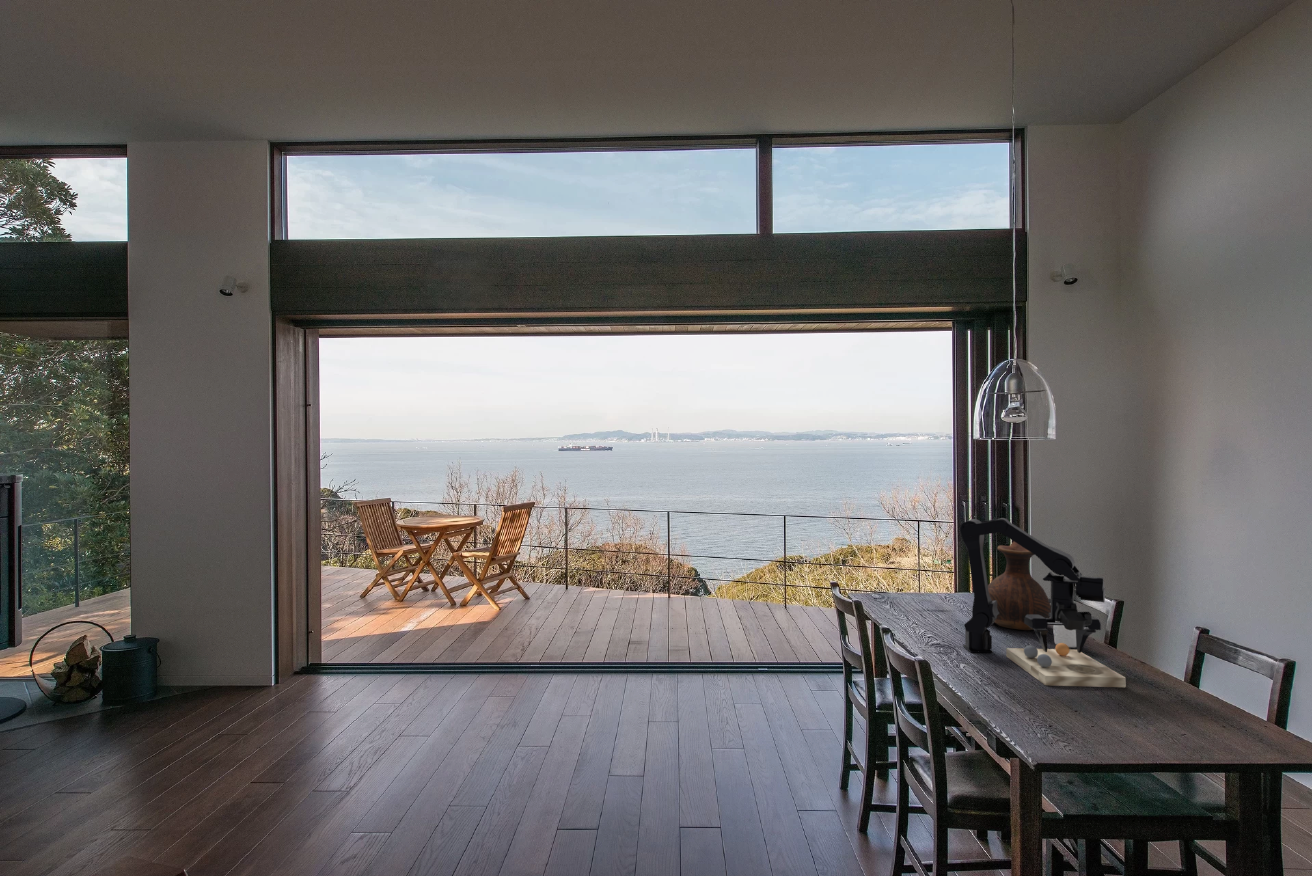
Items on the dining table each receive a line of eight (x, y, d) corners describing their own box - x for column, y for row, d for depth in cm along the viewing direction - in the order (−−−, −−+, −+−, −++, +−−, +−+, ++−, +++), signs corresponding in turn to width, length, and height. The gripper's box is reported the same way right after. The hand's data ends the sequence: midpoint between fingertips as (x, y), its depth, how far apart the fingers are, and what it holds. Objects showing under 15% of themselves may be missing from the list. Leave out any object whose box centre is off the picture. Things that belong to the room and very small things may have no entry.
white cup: (1073, 641, 221) (1073, 609, 221) (1086, 648, 213) (1086, 616, 213) (1047, 640, 222) (1047, 609, 222) (1059, 647, 214) (1059, 615, 214)
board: (1045, 685, 182) (1045, 675, 182) (1006, 656, 206) (1006, 648, 206) (1125, 687, 180) (1125, 677, 180) (1076, 658, 204) (1076, 649, 204)
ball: (1059, 657, 197) (1059, 644, 197) (1053, 653, 201) (1052, 641, 201) (1071, 657, 197) (1071, 645, 197) (1065, 653, 200) (1065, 641, 200)
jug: (1067, 632, 231) (1067, 542, 231) (1008, 635, 228) (1008, 543, 228) (1022, 615, 253) (1022, 533, 253) (968, 618, 249) (968, 534, 249)
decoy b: (1040, 669, 187) (1040, 656, 187) (1034, 664, 190) (1034, 652, 190) (1054, 669, 187) (1054, 656, 187) (1048, 665, 190) (1048, 652, 190)
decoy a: (1027, 659, 195) (1027, 647, 195) (1021, 655, 198) (1021, 643, 198) (1040, 660, 195) (1040, 647, 195) (1034, 656, 198) (1034, 643, 198)
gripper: (1041, 603, 191) (1041, 660, 191) (1112, 604, 190) (1112, 661, 190) (1023, 594, 202) (1023, 648, 202) (1090, 595, 201) (1090, 649, 201)
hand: (1062, 652), depth 199 cm, fingers open, 9 cm apart
